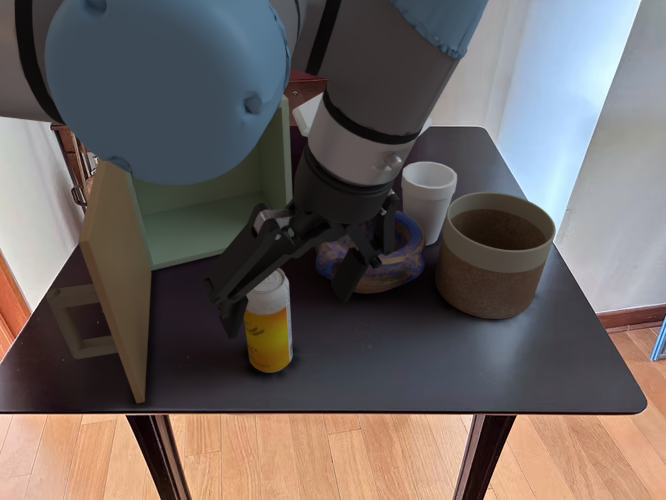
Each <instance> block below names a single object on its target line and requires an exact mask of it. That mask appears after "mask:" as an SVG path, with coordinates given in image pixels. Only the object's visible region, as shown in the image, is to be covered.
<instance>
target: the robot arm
mask: <svg viewBox="0 0 666 500" xmlns="http://www.w3.org/2000/svg"><path fill="white" fill-rule="evenodd" d="M488 3H489V0H0V118H9V119H17V120H25V121H33V122H34V121H36V122H42V123H52V124H59V125H64V126H67V128H68V129H69V130H70V132H71V133H72V134H73V135H74V137H76V138H77V140H79V142H80V143H81V144H82V145H83V146H84V147H85V148H86V150H88V151H89V152H90V153H91V154H93V155H94V156H95V157H97V158H98V159H99V158H100V159H101V160H102V161H109V162H111V163H112V164H114V165H116V166H117V167H119V168H121V169H123V170H125V171H127V172H129V173H131V174H132V175H133V177H134V178H137V179H140V180H143V181H146V182H151V183H156V184H163V185H190V184H195V183H200V182H203V181H207V180H210V179H213V178H216V177H218V176H220V175H222V174H224V173H226V172H227V171H229V170H231V169H232V168H234V167H235V166H237V165H238V164H239V163H240V162H241V161H242V160H244V159H245V157H246V156H247V155H248V154H249V153H250V152H251V150H252V149H253V148H254V147H255V145H256V144H257V142H258V140H259V139H260V137H261V135H262V134H263V132H264V130H265V128H266V127H267V125H268V123H269V122H270V121H271V119H272V117H273V115H274V114H275V112H276V111H277V110H278V108H279V107H280V104H281V100H282V96H283V94H284V92H285V89H286V88H287V87H288V85H289V81H290V75H291V74H290V73H291V69H293V70H296V71H298V72H302V73H305V74H308V75H310V76H313V77H319V78H323V79H325V80H327V81H326V83H325V86H324V89H323V92H322V93H323V94H322V97H321V100H320V103H319V106H318V109H317V111H316V114H315V117H314V120H313V123H312V126H311V128H310V131H309V134H308V137H307V141H306V143H305V145H304V147H303V150H302V153H301V155H300V158H299V159H300V160H299V162H298V165H297V168H296V171H295V175H294V183H293V184H294V186H293V187H294V191H293V195H292V200H291V201H290V202H289V203H288V204H287V205H286V207H285V208H284V209H279V210H270V209H269V208H268V206H267V204H266V203H259V204H257V205H256V206H255V207H254V209H253V211H252V213H251V216H250V218H249V220H248V223H247V224H246V226H245V227H244V228H243V229H242V230H241V231H240V233H239V234H238V235H237V236H236V237H235V239H234V240H233V241H232V242H231V243H230V245H229V246H228V247H227V248H226V249H225V251H224V252H223V253H222V254H219V256H218V257H217V258H216V260H215V261H214V262H213V264H212V265H211V266H210V267H209V268H208V270H207V271H206V272H205V273H204V274H203V275H202V277H201V279H200V283H201V285H202V287H203V289H204V291H205V293H206V295H207V297H208V299H209V301H210V303H211V305H216V308H217V310H218V312H219V315H218V319H219V321H220V324H221V325H222V328H223V329H224V331H225V334H226V336H227V338H228V340H229V341H230V340H234V339H237V338H238V334H239V332H240V330H241V329H240V328H241V325H242V323H243V321H244V314H245V310H246V307H247V304H248V301H249V300H248V298H247V296H246V295H247V294H248V293H249V292H250V291H251V290H253V289H254V288H255V287H256V286H257V285H259V284H260V283H261V282H262V281H263V280H265V279H266V278H267V277H268V276H270V275H271V274H272V273H273V272H274V271H276V270H277V269H278V268H280V267H282V266H283V265H284V264H285V263H287V262H288V261H289V260H290V259H292V258H293V259H299V258H301V257H302V256H303V255H304V254H306V253H307V252H308V251H309V250H310V249H312V248H314V246H318V245H320V244H322V243H325V242H334V241H338V240H339V238H341V237H343V236H344V235H346V234H348V236H349V237H350V238H351V240H352V241H353V242H354V244H355V245H356V246H357V248H358V251H357V250H356V248H355V247H352V248H349V249H348V251H347V253H346V255H345V257H344V259H343V261H342V263H341V265H340V267H339V269H338V271H337V273H336V275H335V277H334V279H333V281H331V283H330V287H331V288H332V289H333V291H334V292H335V294H336V296H337V298H338V299H339V300H340V303H341V304H344V303H348V301H349V300H350V297H351V296H353V293H354V292H353V291H354V289H355V288H356V286H357V284H358V283H359V281H360V279H361V277H362V276H363V275H364V274H365V272H366V270H367V268H368V267H369V265H370V266H371V267H372V269H376V268H378V267H380V266H381V265H382V261H381V260H380V258H379V257H378V255H380V254H382V253H383V254H384V256H388V255H390V254H391V253H392V252H393V251H394V220H395V212H396V210H397V211H398V208H399V206H400V203H401V199H400V198H399V196H398V195H397V194H396V192H395V191H394V189H393V186H394V184H395V181H396V178H397V177H398V175H400V172H401V170H402V169H403V166H404V164H405V162H406V161H407V158H408V156H409V154H410V152H411V150H412V149H413V147H414V145H415V143H416V141H417V139H418V138H419V134H420V132H421V130H422V128H423V126H424V124H425V122H426V120H427V119H428V117H430V115H431V113H432V112H433V110H434V108H435V106H436V104H437V103H438V101H439V99H440V97H441V95H442V94H443V92H444V91H445V89H446V86H447V85H448V83H449V82H450V80H451V78H452V76H453V75H454V73H455V71H456V69H457V67H458V65H459V63H461V60H462V59H464V57H465V56H466V54H467V52H468V47H469V45H470V43H471V41H472V39H473V36H474V34H475V33H476V30H477V28H478V26H479V23H480V21H481V19H482V17H483V14H484V12H485V10H486V8H487V5H488ZM370 219H371V226H372V240H370V241H368V240H367V238H366V237H365V235H364V234H363V232H362V231H361V229H360V227H359V226H358V223H362V222H365V221H368V220H370ZM289 228H291V229H292V231H293V232H294V236H296V238H297V239H298V240H299V241H298V242H297V243H295V242H294V240H293V238H292V237H290V235H289V233H288V229H289Z"/></svg>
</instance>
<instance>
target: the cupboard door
mask: <svg viewBox="0 0 666 500" xmlns="http://www.w3.org/2000/svg"><path fill="white" fill-rule="evenodd" d="M77 242H78V246H79V248H80V251H81V254H82V257H83V259H84V262H85V266H86V268H87V271H88V274H89V277H90V278H91V282H92V283H87V284H80V285H72V286H66V287H59V288H53V289H50V290H48V291H47V292H46V295H45V298H46V300H47V302H48V305H49V307H50V309H51V312H52V313H53V316H54V318H55V320H56V322H57V325H58V328H59V329H60V331H61V333H62V336H63V337H64V341H65V342H66V345H67V347H68V349H69V352H70V354H71V356H72V358H73V359H75V360H82V359H88V358H93V357H94V358H95V357H99V356H106V355H111V354H118V356H119V358H120V361H121V364H122V367H123V370H124V372H125V375H126V378H127V381H128V383H129V386H130V389H131V392H132V395H133V398H134V400H135V403H136V404H142V403H145V401H146V383H147V381H146V379H147V363H148V362H147V361H148V342H149V326H150V325H149V324H150V308H151V289H152V288H151V287H152V271H151V270H150V266H149V263H148V259H147V255H146V251H145V247H144V244H143V240H142V236H141V232H140V229H139V225H138V221H137V217H136V214H135V210H134V206H133V202H132V199H131V195H130V191H129V187H128V184H127V180H126V176H125V172H124V170H123V169H121V168H119V167H117V166H116V165H114V164H112V163H111V162H109V161H102V160H101V159H100V158H99V157H98V159H97V163H96V167H95V171H94V175H93V180H92V184H91V188H90V192H89V196H88V200H87V205H86V209H85V213H84V216H83V221H82V225H81V229H80V233H79V237H78V241H77ZM97 303H99V304H100V306H101V309H102V311H103V315H104V317H105V320H106V323H107V325H108V328H109V331H110V334H111V335H105V336H100V337H99V336H98V337H93V338H85V339H83V338H82V336H81V334H80V332H79V329H78V327H77V325H76V322H75V320H74V318H73V314H72V312H71V310H70V308H71V307H77V306H84V305H91V304H97Z"/></svg>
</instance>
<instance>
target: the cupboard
mask: <svg viewBox="0 0 666 500" xmlns="http://www.w3.org/2000/svg"><path fill="white" fill-rule="evenodd" d="M291 154H292V153H291V129H290V107H289V98H288V97H287V96H286V95H285V94H284V93H283V96H282V100H281V104H280V107H279V108H278V110H277V111H276V112H275V114H274V115H273V117H272V119H271V121H270V122H269V123H268V125H267V127H266V128H265V130H264V132H263V134H262V135H261V137H260V139H259V140H258V142H257V144H256V145H255V147H254V148H253V149H252V150H251V152H250V153H249V154H248V155H247V156H246V157H245V159H244V160H242V161H241V162H240V163H239V164H238V165H237V166H235V167H234V168H232V169H231V170H229V171H227V172H226V173H224V174H222V175H220V176H218V177H216V178H213V179H210V180H207V181H203V182H200V183H195V184H190V185H163V184H156V183H151V182H146V181H143V180H140V179H137V178H134V177H133V175H132V174H131V173H129V172H127V171H125V170H124V172H125V176H126V180H127V184H128V187H129V191H130V195H131V199H132V202H133V206H134V210H135V214H136V217H137V221H138V225H139V229H140V232H141V236H142V240H143V244H144V247H145V251H146V255H147V259H148V263H149V266H150V270H151V272H152V271H156V270H160V269H164V268H169V267H173V266H177V265H182V264H185V263H189V262H194V261H198V260H201V259H206V258H209V257H214V256H218V255H221V254H222V253H223V252H224V251H225V249H226V248H227V247H228V246H229V245H230V243H231V242H232V241H233V240H234V239H235V237H236V236H237V235H238V234H239V233H240V231H241V230H242V229H243V228H244V227H245V226H246V224H247V223H248V220H249V218H250V216H251V213H252V211H253V209H254V207H255V206H256V205H257V204H259V203H266V204H267V206H268V208H269V209H270V210H279V209H284V208H285V207H286V205H287V204H288V203H289V202H290V201H291V200H292V198H293V179H292V175H293V174H292V155H291ZM288 233H289V235H290V237H291V238H292V237H294V236H295V233H294V232H293V231H292V229H291V228H289V229H288Z"/></svg>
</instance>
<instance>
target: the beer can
mask: <svg viewBox="0 0 666 500" xmlns="http://www.w3.org/2000/svg"><path fill="white" fill-rule="evenodd" d="M246 296H247V298H248V300H249V301H248V304H247V307H246V310H245V314H244V317H243V322H244V323H243V324H244V328H245V336H246V345H247V353H248V359H249V363H250V364H251V365H252V367H253V368H255V369H257V370H258V371H260V372H263V373H267V374H269V373H271V374H272V373H277V372H280V371H281V370H283V369H285V368H286V367H287V366H288V365H289V364H290V363H291V362H292V360H293V355H294V353H293V335H292V334H293V333H292V317H291V316H292V315H291V297H290V282H289V279H288V277H287V276H286V274H285V272H284V271H283V269H282V268H280V267H279V268H278V269H277V270H276V271H274V272H273V273H272V274H271V275H270V276H268V277H267V278H266V279H265V280H263V281H262V282H261V283H260V284H259V285H257V286H256V287H255V288H254V289H253V290H251V291H250V292H249V293H248V294H247V295H246Z"/></svg>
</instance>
